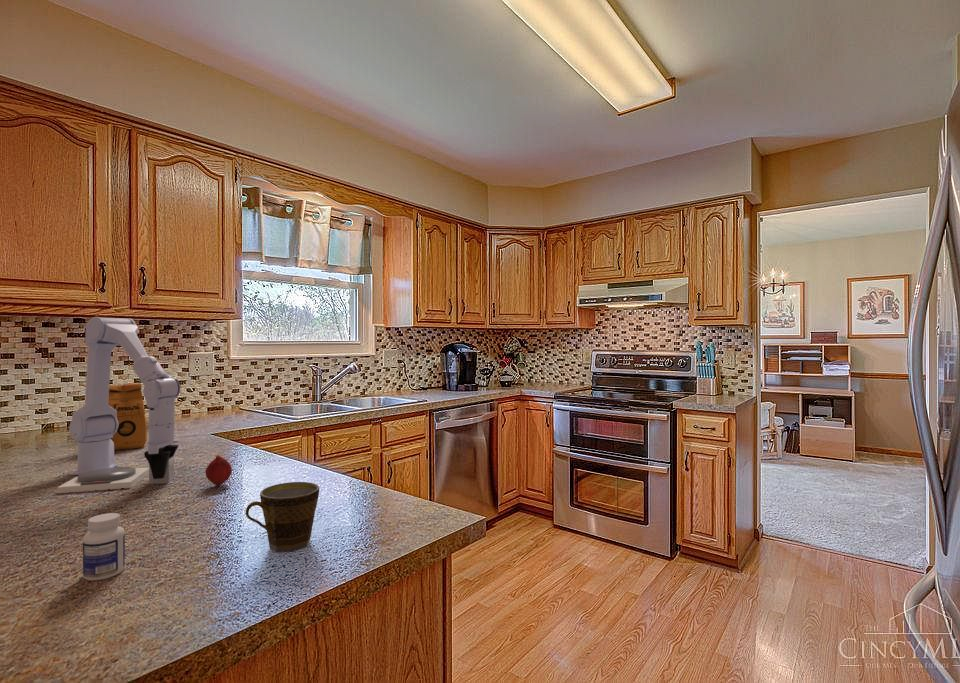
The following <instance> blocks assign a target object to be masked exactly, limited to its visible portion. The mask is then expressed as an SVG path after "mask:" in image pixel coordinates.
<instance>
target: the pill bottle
mask: <svg viewBox="0 0 960 683" xmlns="http://www.w3.org/2000/svg"><path fill="white" fill-rule="evenodd" d="M120 523H121V517H120V514H119V513H118V512H116V513H114V512H110V513H109V512H108V513H101V514H97V515H95V516H92V517H89V519H88V520H87V530H88V532H87V533H86V534H84V536H83V538H82V578H83V579H85V580H87V581H93V582H95V581H101V580H106V579H109V578H112V577H114V576H117V575H118V574H120V573H122V572H123V571H124V570H125V568H126V544H125V543H126V532H125V529H124V528H123V527H122V526H119V525H120Z"/></svg>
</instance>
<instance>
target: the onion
mask: <svg viewBox="0 0 960 683" xmlns="http://www.w3.org/2000/svg"><path fill="white" fill-rule="evenodd" d="M232 469H233V468H232V465H231V464H230V462H229V461H228V460H227V459H226V458H224V457H222V456H221V455H220V454H219V453H217V454H216V456H215V458H214V459H212V460H211V461H210V463H208V465H207V466H206V469H205V477H206V478H207V480H208V481H209V482H211V483H212V484H213V485H215V486H217V487H220V486H221V485H223V484H224V483H225V482H227V481H228V480H229V478H231V475H232V473H233V472H232V471H233V470H232Z"/></svg>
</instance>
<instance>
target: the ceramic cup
mask: <svg viewBox="0 0 960 683" xmlns="http://www.w3.org/2000/svg"><path fill="white" fill-rule="evenodd" d="M319 495H320V486H319V485H318V484H317V483H314V482H308V481H307V482H306V481H293V482H292V481H290V482H282V483H278V484H273V485H270V486H268V487H265V488H263V489H262V490H261V491H260V492H259V496H260V497H259V498H260V501H258V500H257V501H252V502H250V503H249V504H248V505H247V507H246V508H245V517H246V518H247V519H248V520H250V521H251V522H254V523H256V524H258V526H260V527H261V528H264V530H265V531H266V533H267V540H268V547H269V549H270V550H271V551H273V552H275V553H294V552H297V551H299V550H303V549H305V548H307V546H308V545H309V543H310V541H311V536H312V532H313V525H314V520H315V513H316V509H317V505H318V502H319V501H318V500H319ZM255 506H259V507H260V508H261V510H262V513H263V518H264V524H263V523H262V522H261V521H259V520H258V519H255V518H254V517H252V516H250V515H249V511H250V509H251V508H252V507H255Z"/></svg>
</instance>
